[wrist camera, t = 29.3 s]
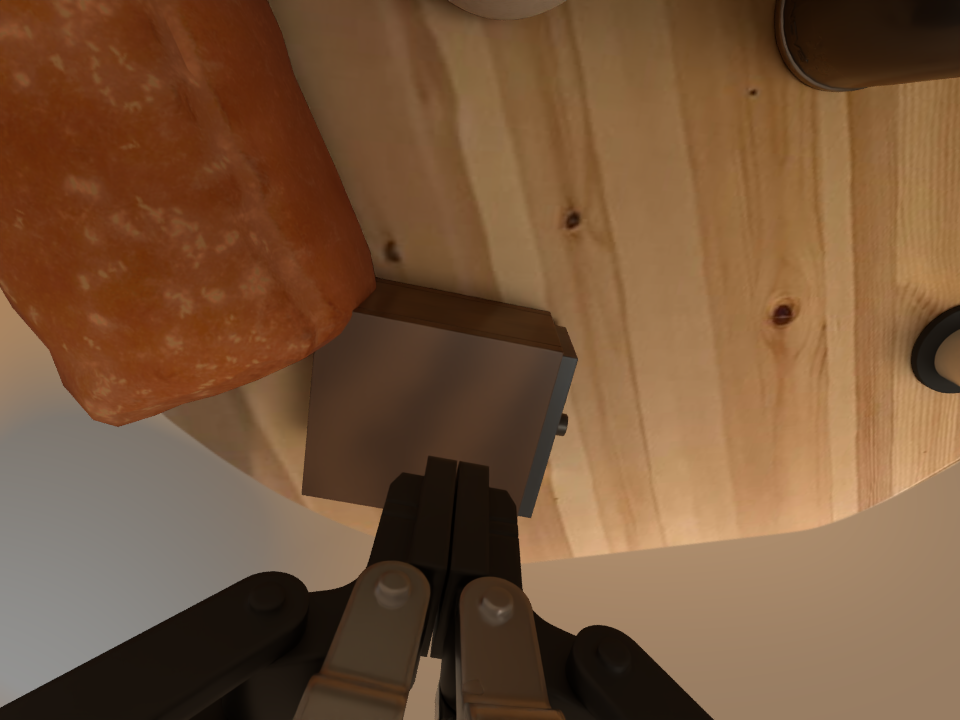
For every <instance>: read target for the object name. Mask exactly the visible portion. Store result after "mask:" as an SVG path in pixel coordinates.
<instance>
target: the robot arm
mask: <svg viewBox="0 0 960 720" xmlns="http://www.w3.org/2000/svg"><path fill="white" fill-rule="evenodd" d="M775 35H776V41H777V45H778V48H779V51H780V54H781V56H782V58H783V60H784V62H785V64H786V65H787V67H788V68H789V70H790V71H791V72H792V73H793V74H794V75H795V76H796V77H797V78H798V79H799V80H801V81H802V82H803V83H805V84H807V85H809V86H811V87H813V88H816V89H819V90H823V91H829V92H844V91H854V90H859V89H864V88H867V87H873V86H883V85H894V84H903V83H912V82H921V81H929V80H938V79H947V78H956V77H960V0H777V3H776V9H775ZM456 471H457V473H456ZM432 633H433V637H432ZM431 637H432V646H431V655H430V657H432V658H438V659H442V663H441V674H440V680H439V684H438V688H437V692H436V698H435V720H714V719H713V718H711V716H709V714H707V713H706V712H705V711H704V710H703V709H702V708H701V707H700V706H699V705H698V704H697V703H696V702H695V701H694V700H693V699H692V698H691V697H690V696H689V695H688V694H687V693H686V692H685V691H684V690H683V689H682V688H681V687H680V686H679V685H678V684H677V683H676V682H675V681H674V680H673V679H672V678H671V677H670V676H669V675H668V674H667V673H666V672H665V671H664V670H663V669H662V668H661V667H660V666H659V665H658V664H657V663H656V662H655V661H654V660H653V659H652V658H651V657H650V656H649V655H648V654H647V653H646V652H645V651H644V650H643V649H642V648H641V647H640V646H639V645H638V644H637V643H636V642H635V641H634V640H632V639H631V638H630V637H629V636H627V635H626V634H624V633H623V632H621V631H619V630H617V629H614V628H612V627H608V626H602V625H593V626H588V627H586V628H584V629H582V630H581V631H580V632H579V633H578V634H577V636H575V635H572V634H570V633H568V632H566V631H563V630H562V629H559V628H557V627H555V626H553V625H551V624H549V623H548V622H546V621H544V620H543V619H542V618H541V617H539V616H538V615H537V614H536V613H535V612H534V611H533V610H532V606H531V603H530V601H529V599H528V597H527V596H526V595H525V593H524V592H523V589H522V577H521V563H520V549H519V538H518V525H517V508H516V504H515V503H514V501H513V500H512V498H511V496H510V495H509V493H508V491H507V490H502V489H496V488H491V487H489V466H486V465H481V464H475V463H469V462H464V461H459V464H458V468H457V460H452V459H446V458H441V457H435V456H429V455H428V459H427V465H426V470H425V475H424V476H422V475H416V474H410V473H405V472H402V473H401V474H400V475H399V476H398V477H397V478H396V479H395V480H394V481H393V482H392V483H391V484H390V487H389V490H388V494H387V497H386V502H385V504H384V508H383V512H382V515H381V519H380V522H379V526H378V530H377V533H376V537H375V540H374V544H373V548H372V551H371V555H370V558H369V562H368V564H367V567H366V569H365V570H364V571H363V572H362V573H361V574H360V575H359V577H358V578H357V579H356V580H354V581H353V582H351V583H349V584H347V585H345V586H343V587H340V588H336V589H332V590H325V591H316V592H308V590H307V588H306V586H305V585H304V584H303V582H302V581H300V580H299V579H298V578H296V577H294V576H293V575H290V574H287V573H283V572H275V571H271V572H262V573H257V574H254V575H251V576H249V577H247V578H245V579H243V580H241V581H239V582H237V583H235V584H233V585H231V586H229V587H228V588H226V589H224V590H222V591H220V592H218V593H216V594H214V595H212V596H211V597H209V598H207V599H205V600H203V601H201V602H199V603H197V604H196V605H193V606H192V607H190V608H188V609H186V610H184V611H182V612H180V613H178V614H176V615H175V616H173V617H171V618H169V619H167V620H165V621H163V622H161V623H159V624H158V625H156V626H154V627H152V628H150V629H148V630H146V631H144V632H142V633H141V634H139V635H137V636H135V637H133V638H131V639H129V640H128V641H125V642H124V643H122V644H120V645H118V646H116V647H114V648H112V649H110V650H109V651H107V652H105V653H103V654H101V655H99V656H97V657H95V658H93V659H91V660H90V661H88V662H86V663H84V664H82V665H80V666H78V667H76V668H74V669H73V670H71V671H69V672H67V673H65V674H63V675H61V676H59V677H57V678H56V679H54V680H52V681H50V682H48V683H46V684H44V685H42V686H40V687H39V688H37V689H35V690H33V691H31V692H29V693H27V694H25V695H23V696H22V697H20V698H18V699H16V700H14V701H12V702H10V703H8V704H6V705H4V706H3V707H1V708H0V720H403V717H404V712H405V708H406V703H407V699H408V694H409V691H410V689H411V688H412V686H413V684H414V682H415V678H416V674H417V669H418V665H419V660H420V656H424V657H427V654H428V650H429V646H430V641H431Z"/></svg>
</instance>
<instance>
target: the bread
mask: <svg viewBox="0 0 960 720" xmlns="http://www.w3.org/2000/svg"><path fill="white" fill-rule="evenodd" d="M0 287H1V289H2V291H3V293H4V294H5V296H6V298H7V299H8V301H9V302H10V304H11V306H12V308H13V309H14V310H15V311H16V312H17V313H18V314H19V316H20V317H21V318H22V319H23V320H24V321H25V323H26V324H27V325H28V326H29V327H30V328H31V330H32V331H33V332H34V333H35V334H36V335H37V336H38V338H39V339H40V340H41V341H42V342H43V343H44V345H45V346H46V347H47V348H48V349H49V350H50V353H51V355H52V358H53V361H54V363H55V366H56V368H57V371H58V373H59V376H60V378H61V381H62V383H63V386H64V387H65V388H66V389H67V390H68V391H69V393H71V395H72V396H73V397H74V398H75V399H76V401H77V402H78V403H79V404H80V405H81V406H82V408H83V409H84V410H85V411H86V412H87V413H88V414H89V416H90V417H91V418H92V419H93V420H96V421H99V422H103V423H106V424H110V425H113V426H117V427H119V426H122V425H126V424H129V423H132V422H135V421H139V420H142V419H145V418H148V417H152V416H155V415H157V414H160V413H162V412H164V411H167V410H169V409H172V408H174V407H176V406H179V405H181V404H184V403H188V402H192V401H196V400H200V399H203V398H207V397H211V396H215V395H218V394H221V393H223V392H226V391H229V390H232V389H234V388H237V387H240V386H242V385H245V384H248V383H250V382H253V381H256V380H258V379H261V378H263V377H265V376H267V375H269V374H271V373H274V372H276V371H278V370H280V369H282V368H285V367H287V366H289V365H291V364H293V363H296V362H298V361H300V360H302V359H304V358H306V357H307V356H309V355H310V354H312V353H313V352H315V351H316V350H318V349H320V348H321V347H323V346H324V345H326V344H327V343H329V342H330V341H332V340H333V339H334V338H336V337H337V336H338V335H340V334H341V332H342V331H343V329H344V328H345V327H346V325H347V324H348V322H349V321H350V319H351V316H352V311H353V310H354V309H356V308H358V306H359V305H360V304H361V303H362V302H363V301H364V300H365V299H366V298H368V297H369V296H370V295H371V294H372V293H373V292H374V291H375V289H376V280H375V274H374V269H373V264H372V259H371V253H370V250H369V248H368V245H367V243H366V240H365V238H364V235H363V233H362V230H361V228H360V225H359V223H358V220H357V218H356V216H355V213H354V211H353V208H352V206H351V204H350V201H349V199H348V196H347V194H346V192H345V189H344V187H343V185H342V182H341V180H340V177H339V175H338V173H337V170H336V168H335V165H334V163H333V161H332V159H331V157H330V154H329V152H328V150H327V148H326V145H325V143H324V141H323V139H322V136H321V134H320V132H319V130H318V127H317V125H316V123H315V121H314V118H313V116H312V114H311V112H310V109H309V107H308V105H307V103H306V100H305V98H304V96H303V94H302V92H301V89H300V87H299V85H298V83H297V80H296V78H295V76H294V73H293V70H292V66H291V63H290V60H289V56H288V53H287V49H286V46H285V42H284V39H283V36H282V32H281V30H280V28H279V26H278V23H277V21H276V19H275V17H274V14H273V12H272V10H271V8H270V5H269V3H268V1H267V0H0Z"/></svg>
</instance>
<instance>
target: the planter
mask: <svg viewBox="0 0 960 720" xmlns="http://www.w3.org/2000/svg"><path fill="white" fill-rule="evenodd" d="M448 1H450V2H451V3H453V4H454V5H456V6H458V7H460V8H461V9H463V10H465V11H467V12H470V13H472V14H475V15H478V16H481V17H485V18H489V19H496V20H516V19H523V18H528V17H532V16H535V15H538V14H541V13H544V12H546V11H549V10H551V9H553V8H555V7H556V6H558V5H560V4H562V3H563V2H565V1H566V0H448Z"/></svg>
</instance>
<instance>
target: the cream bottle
mask: <svg viewBox="0 0 960 720" xmlns="http://www.w3.org/2000/svg"><path fill="white" fill-rule="evenodd" d="M934 364H935V368H936V370H937V372H938V374H939V375H940V376H942V377H943V378H945V379H947V380H948V381H950V382H952V383H954V384H956V385H958V386H959V387H960V329H959V330H957V331H955V332H954V333H952V334H951V335H949V336H948V337H947V338H946V339H945V340H944V341H943V342H942V343H941V345H940V346H939V348H938V350H937V352H936V355H935V360H934Z"/></svg>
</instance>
